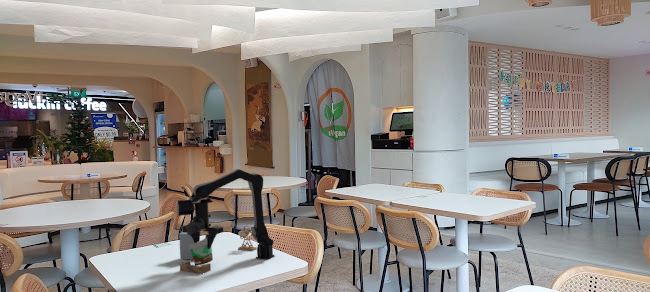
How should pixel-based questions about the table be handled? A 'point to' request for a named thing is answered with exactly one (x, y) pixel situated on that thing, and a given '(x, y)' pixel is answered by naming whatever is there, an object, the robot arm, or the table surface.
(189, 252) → the sliding gate
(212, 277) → the table surface
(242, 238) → the lattice stand
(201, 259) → the food container
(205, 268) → the frame
